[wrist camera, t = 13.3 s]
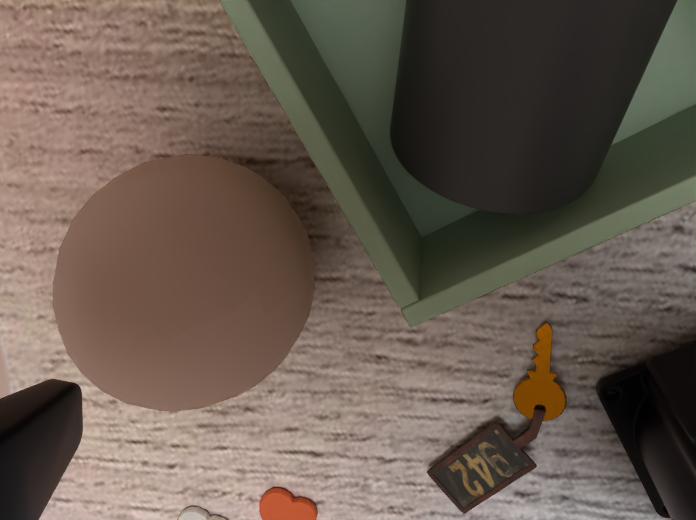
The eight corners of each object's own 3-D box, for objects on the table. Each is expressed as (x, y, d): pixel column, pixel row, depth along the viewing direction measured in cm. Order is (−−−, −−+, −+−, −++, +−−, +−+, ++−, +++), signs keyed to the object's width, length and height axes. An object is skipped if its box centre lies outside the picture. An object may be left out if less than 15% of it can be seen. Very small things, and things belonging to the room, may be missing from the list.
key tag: (485, 519, 25) (483, 528, 24) (422, 473, 25) (419, 482, 24) (617, 364, 22) (619, 371, 21) (543, 316, 22) (543, 321, 22)
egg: (118, 132, 21) (-58, 201, 13) (328, 133, 20) (268, 207, 13) (147, 322, 24) (12, 470, 16) (334, 329, 23) (286, 490, 15)
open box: (752, 91, 18) (878, 121, 13) (414, 254, 21) (410, 328, 16) (606, -317, 15) (694, -479, 10) (238, -59, 18) (166, -86, 13)
